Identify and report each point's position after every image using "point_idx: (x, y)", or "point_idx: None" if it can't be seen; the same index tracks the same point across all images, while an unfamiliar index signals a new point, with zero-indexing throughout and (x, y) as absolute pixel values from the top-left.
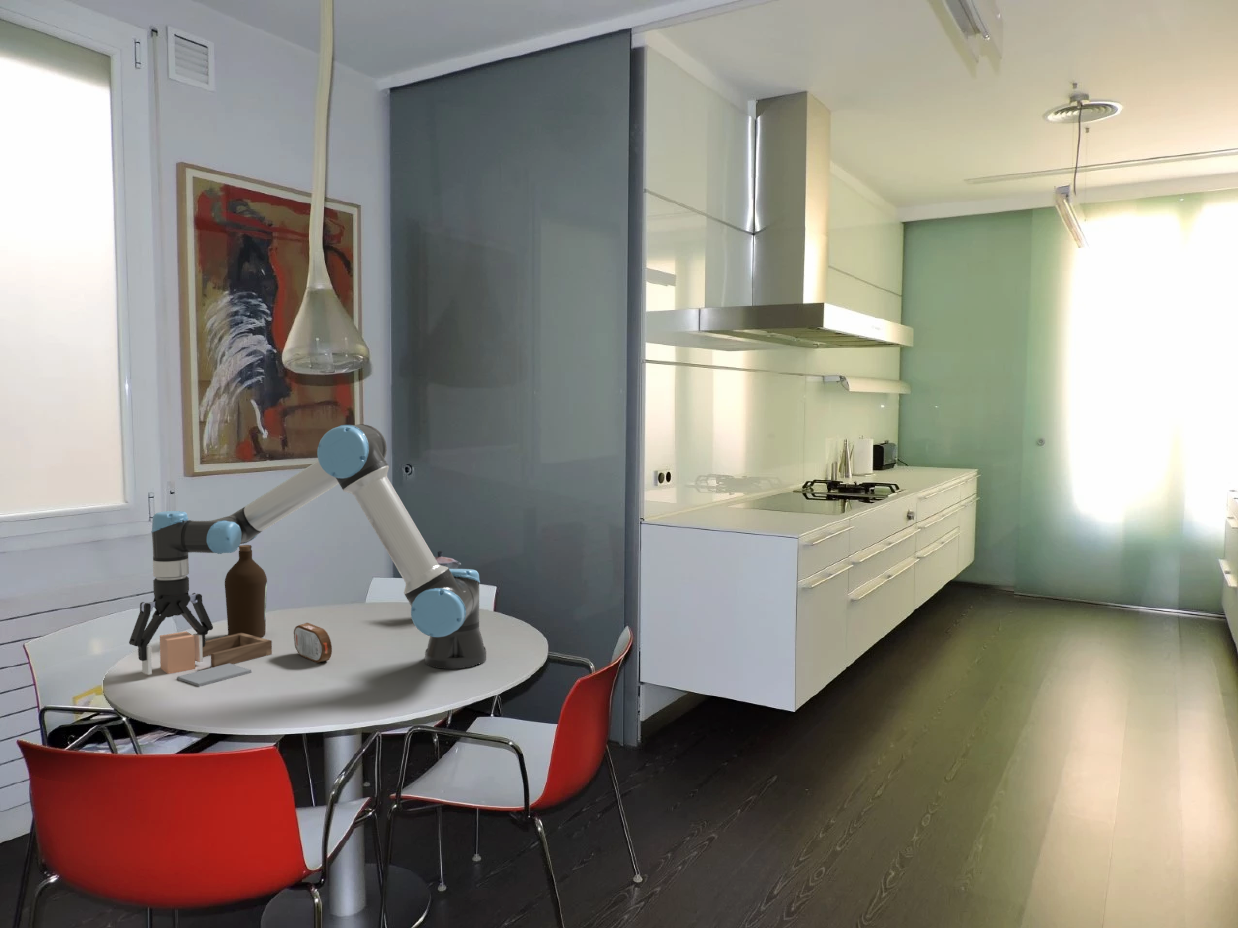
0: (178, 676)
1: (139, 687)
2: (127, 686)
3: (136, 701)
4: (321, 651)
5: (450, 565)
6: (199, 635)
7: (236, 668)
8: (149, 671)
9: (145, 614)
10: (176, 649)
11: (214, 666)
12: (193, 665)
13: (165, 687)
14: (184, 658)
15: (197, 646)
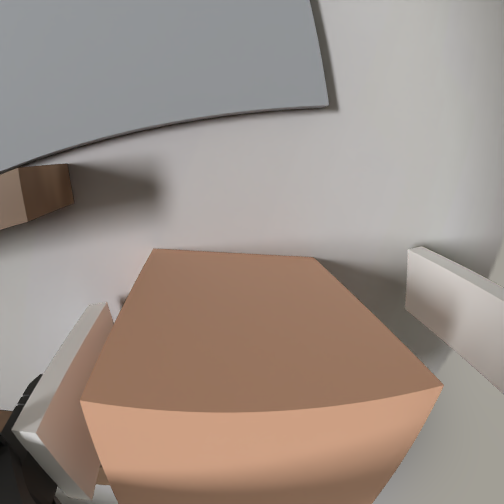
0: (322, 100)
1: (473, 134)
2: (490, 190)
3: (495, 4)
4: None
5: None
6: (34, 440)
7: (10, 44)
8: (427, 252)
9: None
10: (307, 329)
11: (61, 165)
12: (159, 257)
13: (407, 33)
14: (221, 282)
15: (84, 385)
